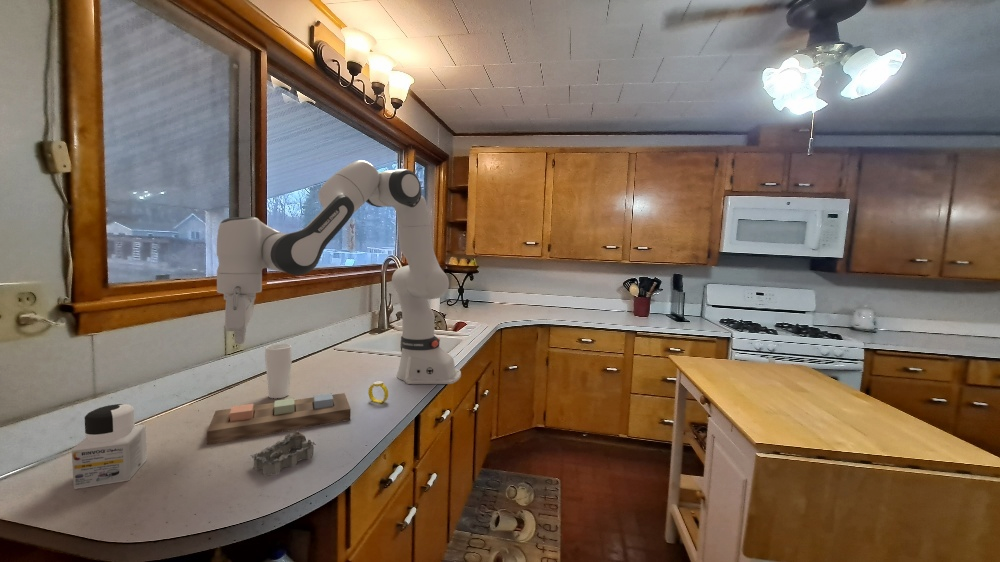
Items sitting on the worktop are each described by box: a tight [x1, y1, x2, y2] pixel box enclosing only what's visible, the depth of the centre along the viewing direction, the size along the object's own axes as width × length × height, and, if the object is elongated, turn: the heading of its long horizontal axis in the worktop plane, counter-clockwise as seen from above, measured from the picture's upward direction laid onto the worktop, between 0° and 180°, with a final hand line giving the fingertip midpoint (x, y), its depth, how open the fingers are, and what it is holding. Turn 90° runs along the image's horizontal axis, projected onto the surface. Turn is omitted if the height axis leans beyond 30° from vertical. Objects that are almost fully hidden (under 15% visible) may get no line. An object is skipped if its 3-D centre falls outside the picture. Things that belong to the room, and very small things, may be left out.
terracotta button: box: [230, 403, 255, 422], centre depth 93 cm, size 4×4×3 cm
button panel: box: [206, 392, 352, 445], centre depth 98 cm, size 30×12×3 cm, turn 119°
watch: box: [367, 380, 389, 404], centre depth 112 cm, size 6×3×6 cm, turn 71°
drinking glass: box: [264, 343, 293, 399], centre depth 113 cm, size 7×7×15 cm
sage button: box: [274, 398, 295, 415], centre depth 97 cm, size 4×4×3 cm
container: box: [71, 403, 148, 490], centre depth 73 cm, size 8×8×13 cm
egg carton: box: [250, 430, 317, 476], centre depth 80 cm, size 11×8×4 cm
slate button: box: [313, 392, 333, 409], centre depth 102 cm, size 4×4×3 cm
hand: (240, 342), depth 91 cm, fingers closed
